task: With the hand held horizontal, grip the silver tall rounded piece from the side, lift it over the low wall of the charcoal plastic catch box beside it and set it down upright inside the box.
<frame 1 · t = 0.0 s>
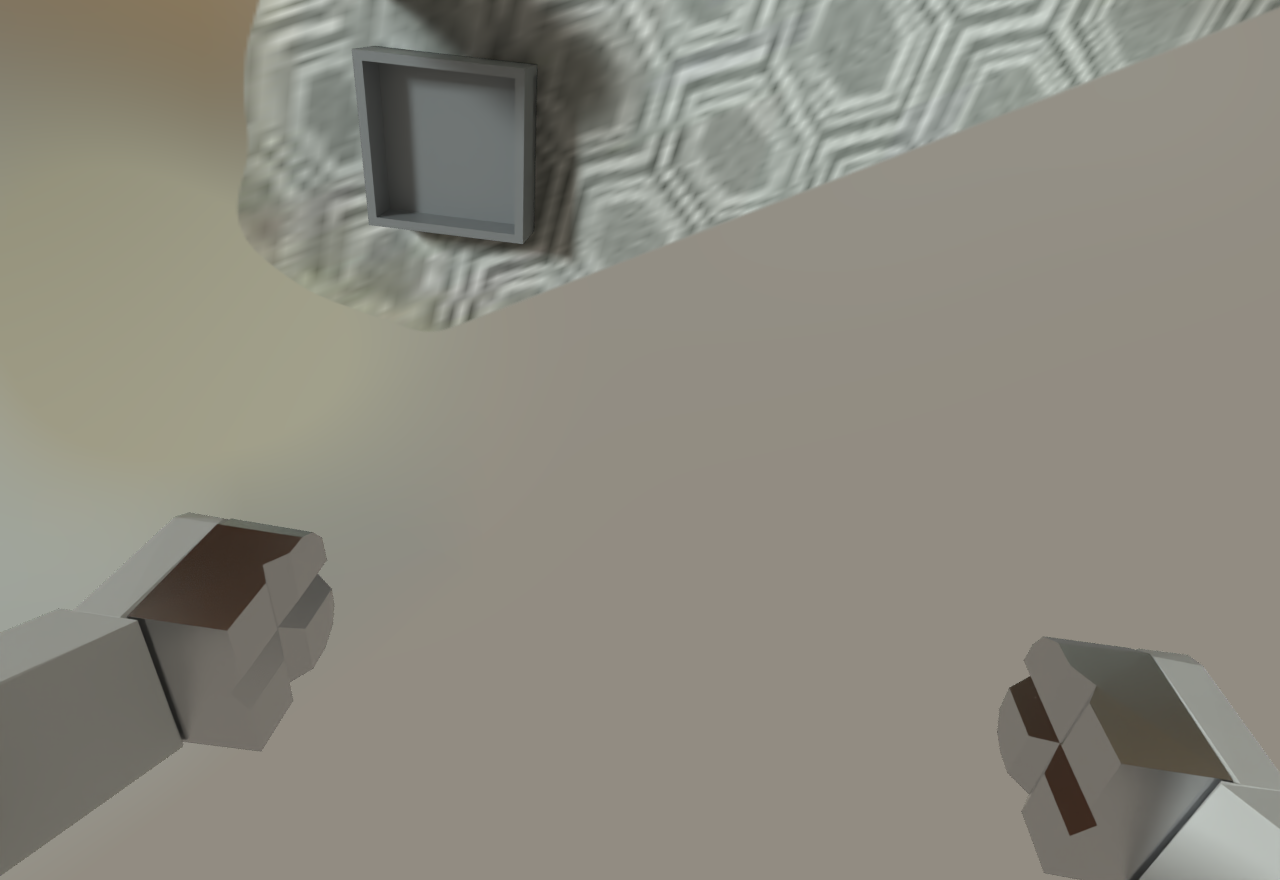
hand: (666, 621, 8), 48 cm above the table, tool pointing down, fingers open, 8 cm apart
catch box: (458, 143, 52), on the table
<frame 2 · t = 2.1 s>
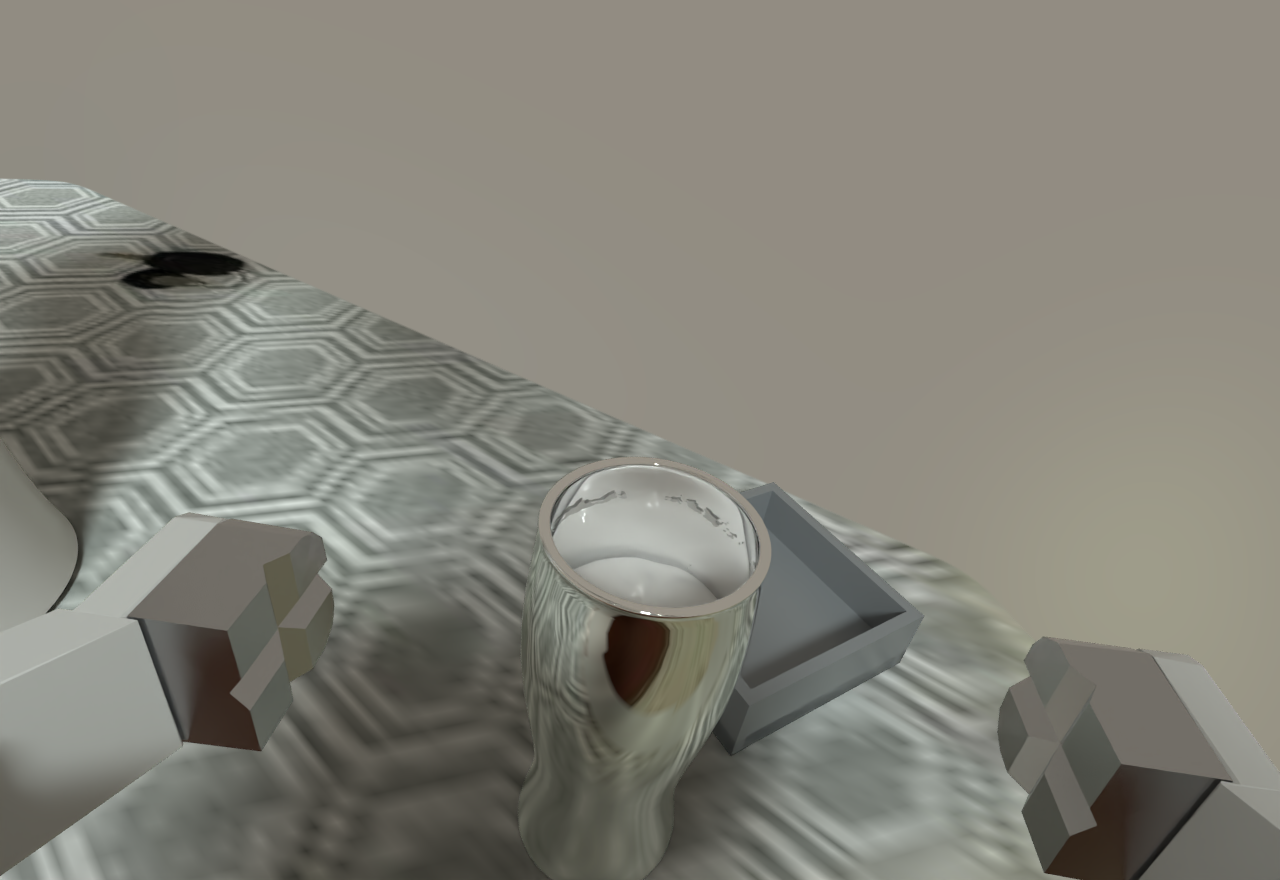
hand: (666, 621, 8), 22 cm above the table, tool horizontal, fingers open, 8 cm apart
catch box: (747, 621, 38), on the table
silver tall rounded piece: (595, 815, 29), on the table
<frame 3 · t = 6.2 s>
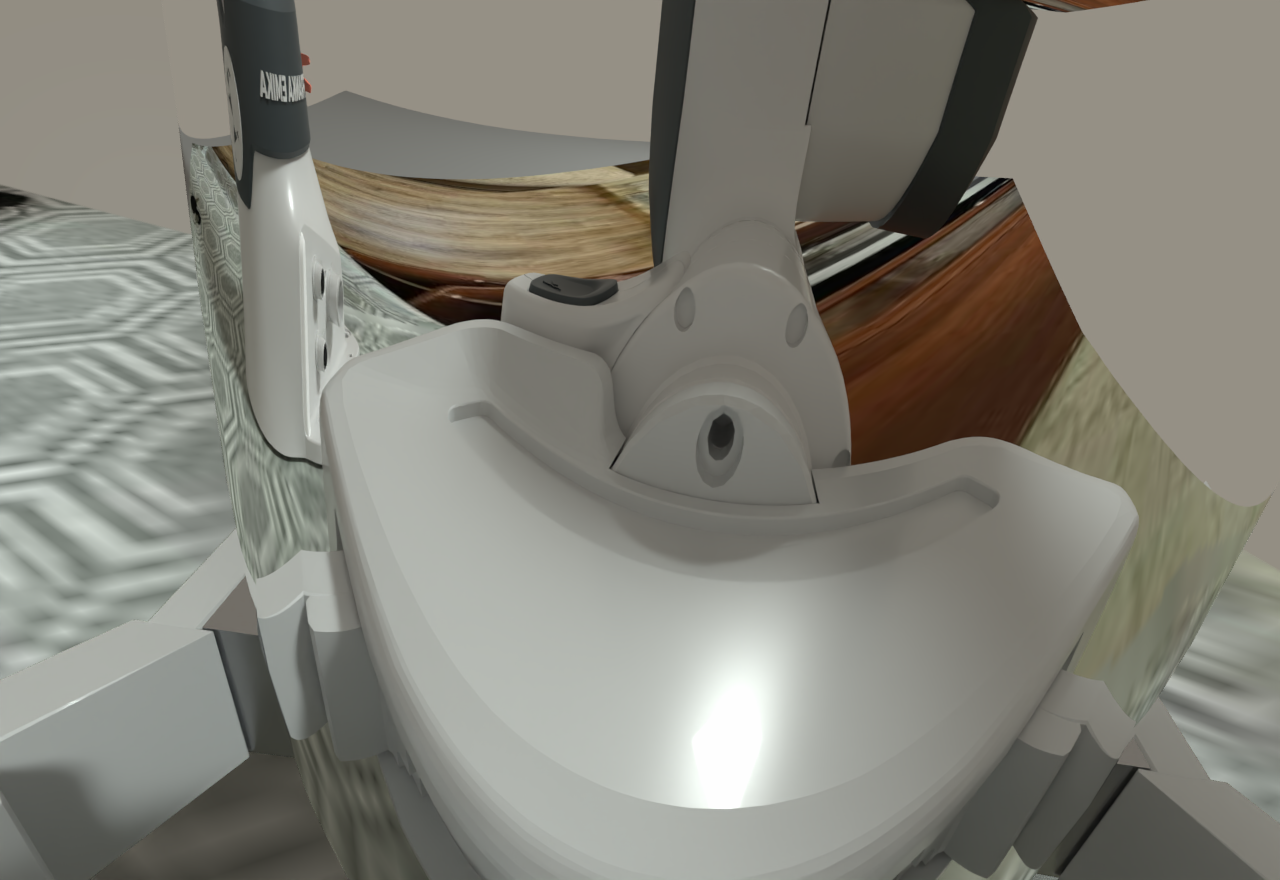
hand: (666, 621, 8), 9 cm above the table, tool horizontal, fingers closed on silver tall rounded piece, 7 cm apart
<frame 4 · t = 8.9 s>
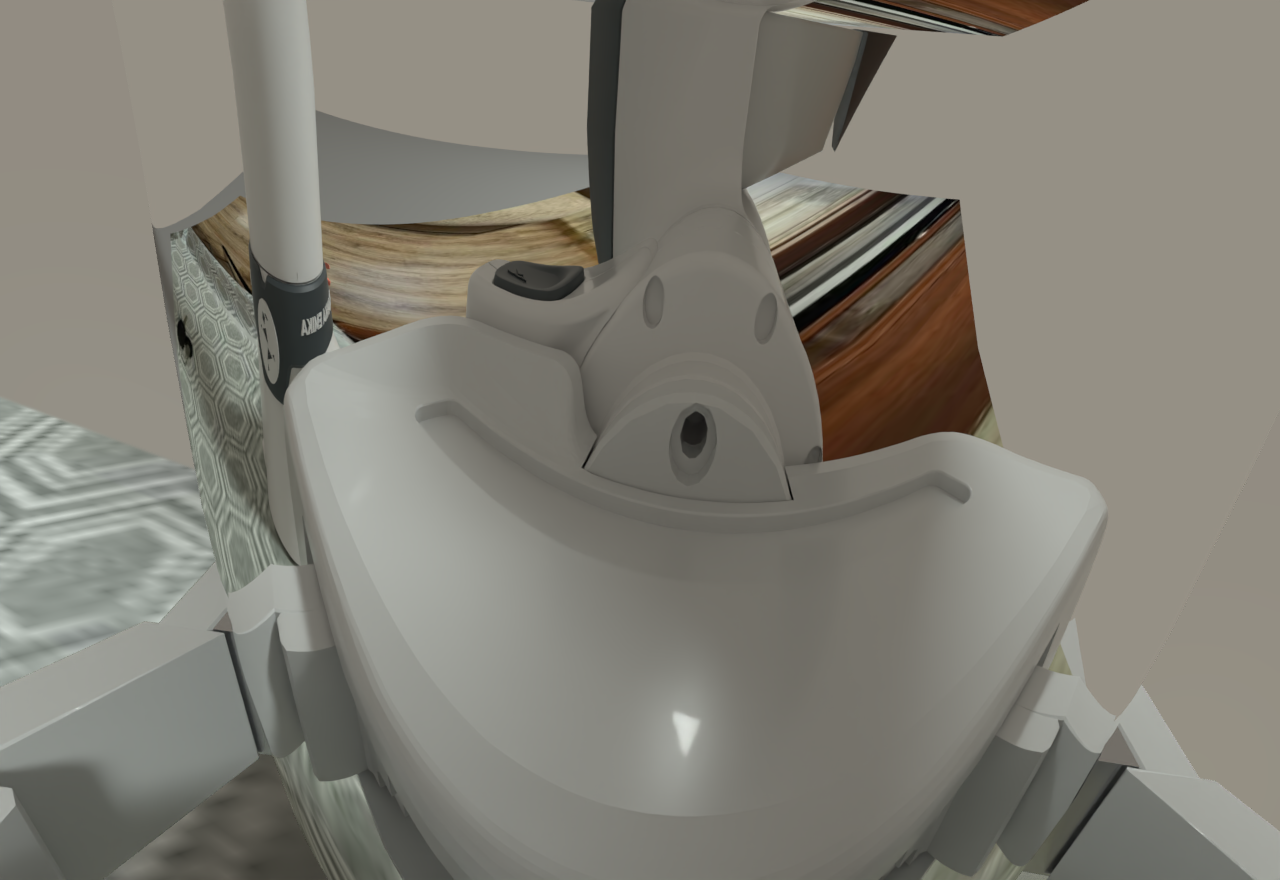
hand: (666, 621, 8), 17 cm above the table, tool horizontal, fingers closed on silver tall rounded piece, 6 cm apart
when the fingers open (11 cm above the table, at t = 11.2 s): silver tall rounded piece moves 2 cm, point 1 cm above the table.
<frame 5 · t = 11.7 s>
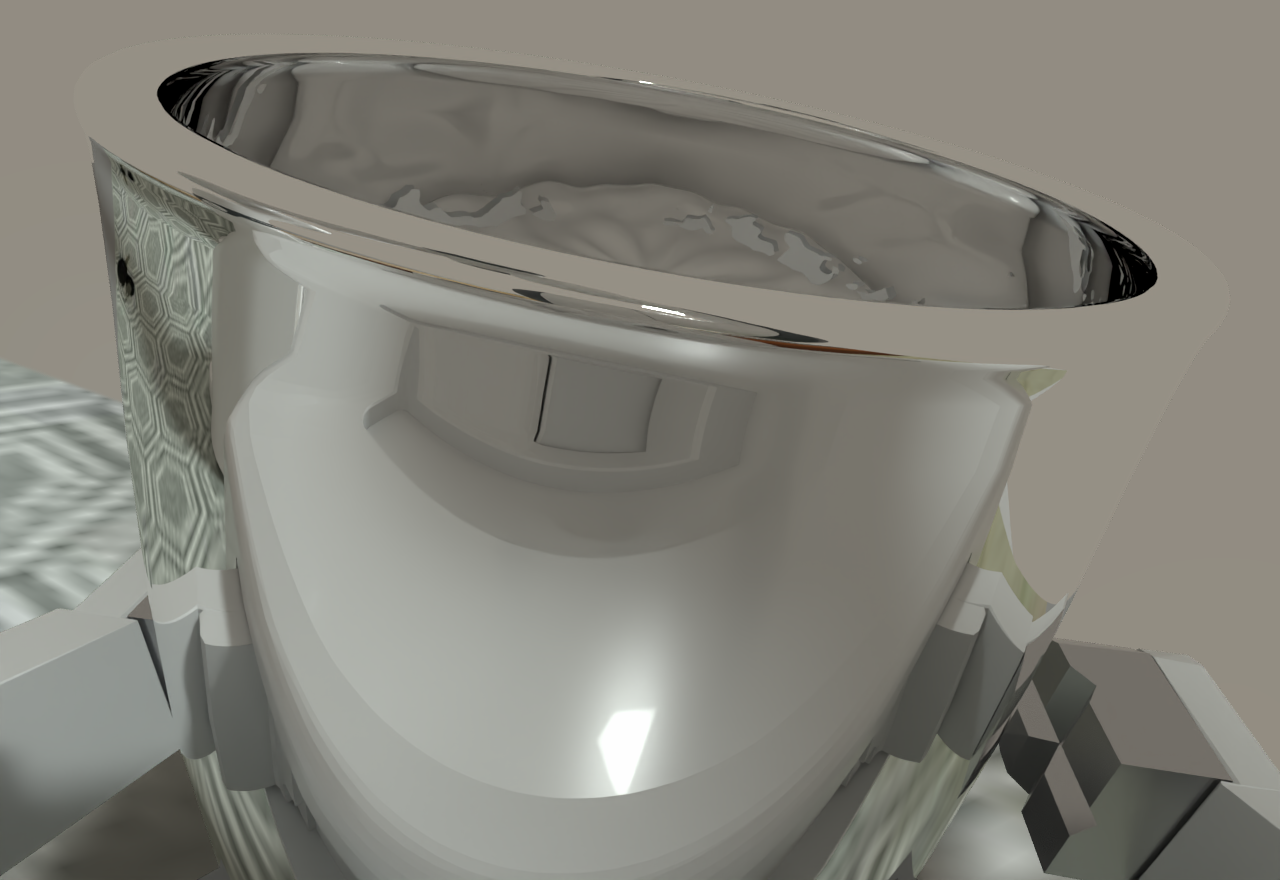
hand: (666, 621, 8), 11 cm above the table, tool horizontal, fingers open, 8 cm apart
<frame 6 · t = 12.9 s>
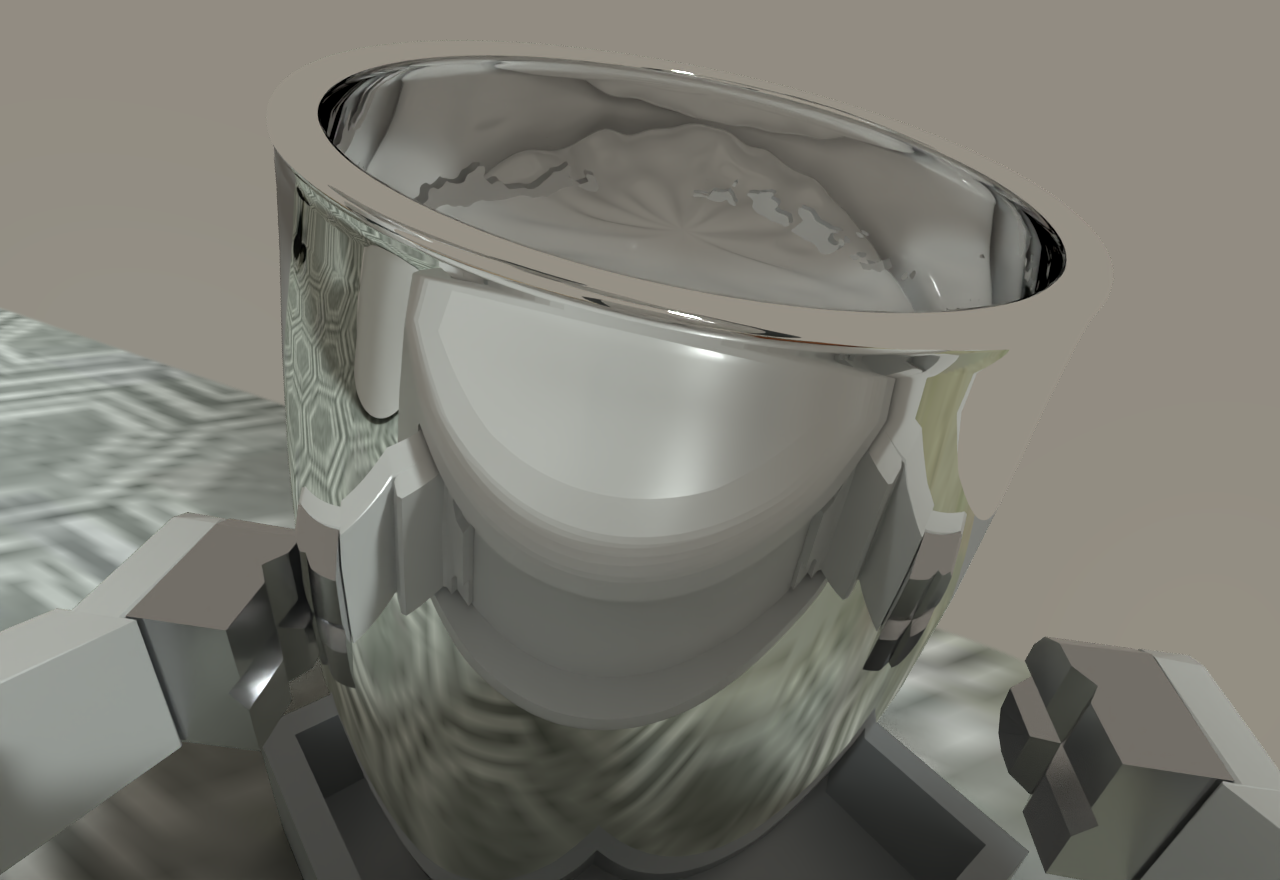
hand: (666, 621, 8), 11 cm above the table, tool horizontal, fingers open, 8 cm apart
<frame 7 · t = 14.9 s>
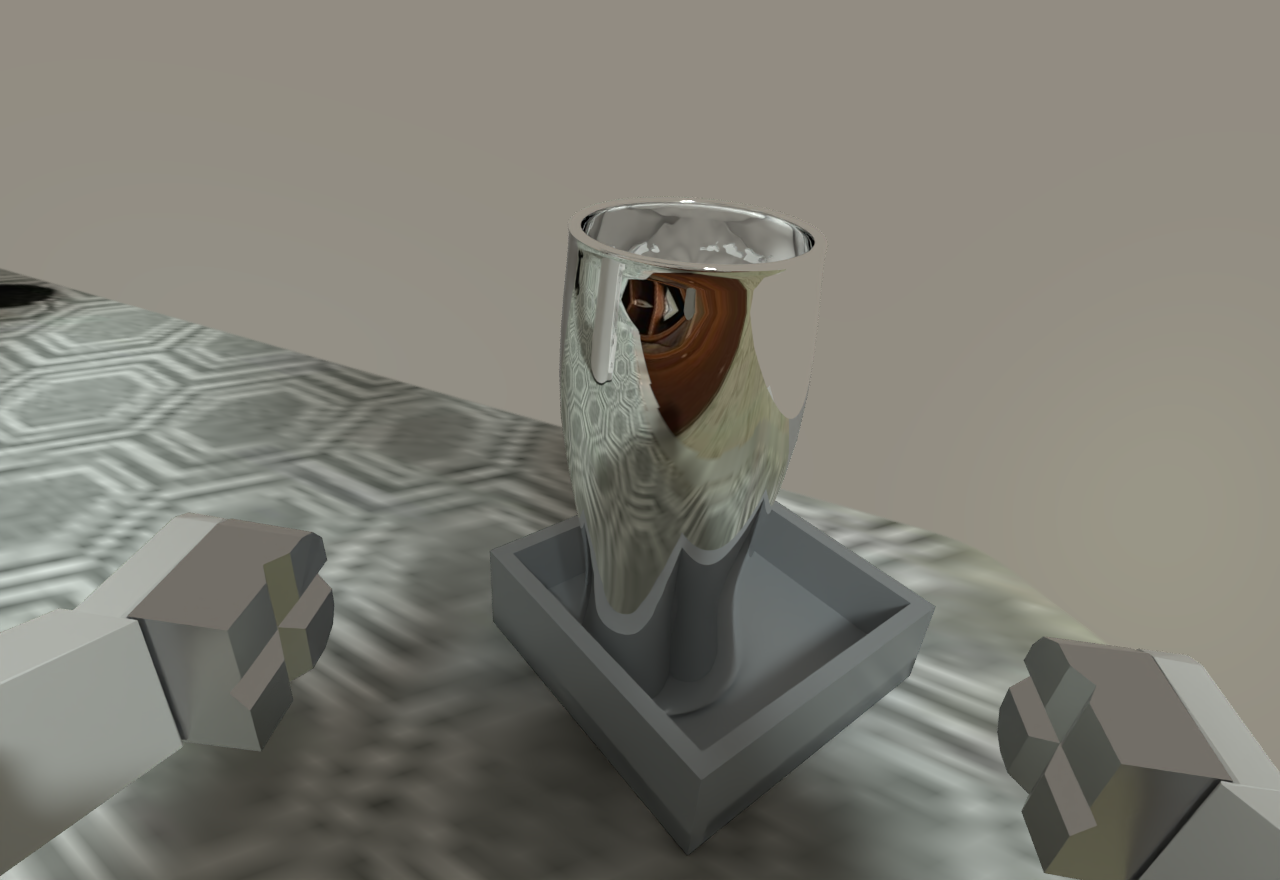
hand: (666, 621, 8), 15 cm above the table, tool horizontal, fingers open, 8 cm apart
catch box: (698, 648, 28), on the table
silver tall rounded piece: (656, 650, 26), point 1 cm above the table, touching catch box
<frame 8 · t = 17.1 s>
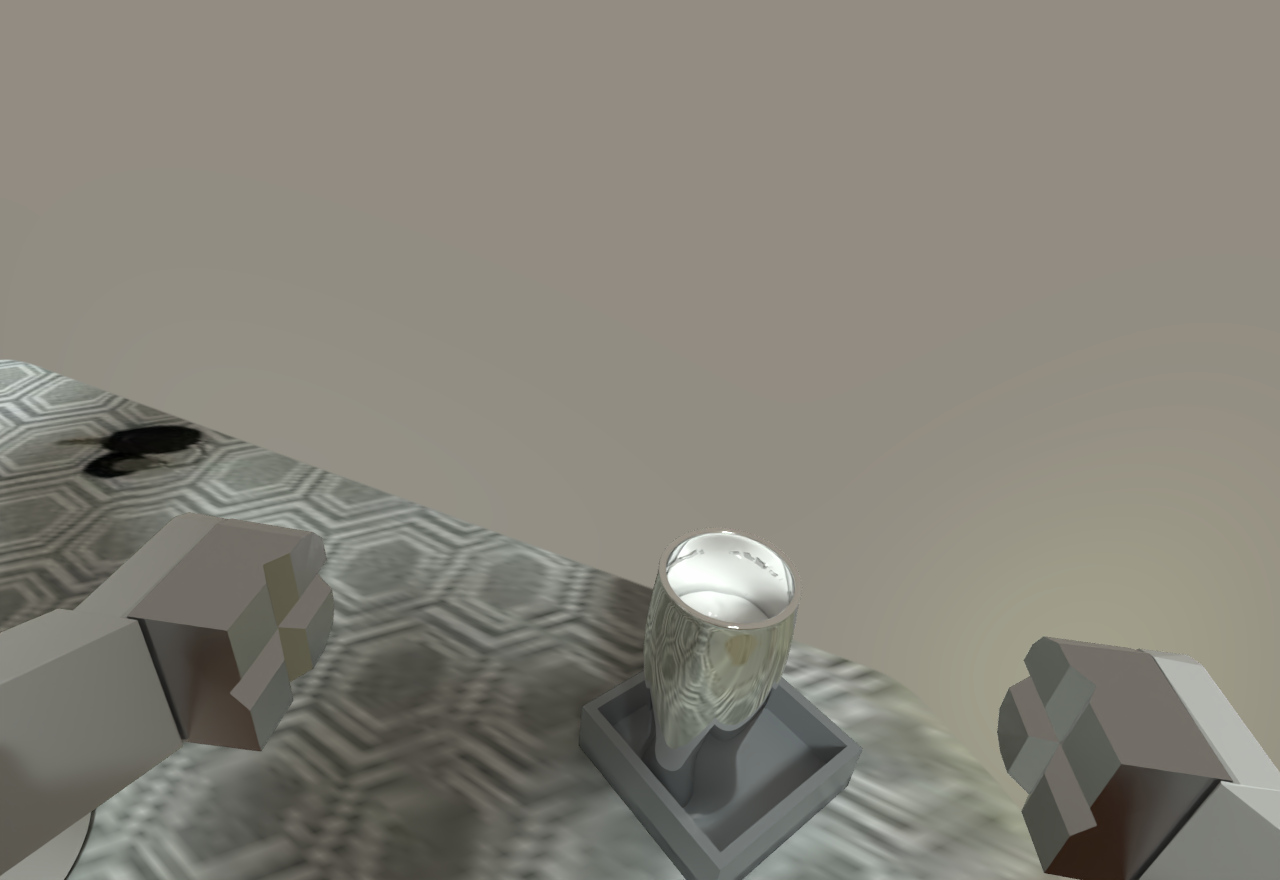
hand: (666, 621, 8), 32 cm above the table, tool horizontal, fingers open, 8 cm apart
catch box: (712, 765, 43), on the table
silver tall rounded piece: (687, 770, 41), point 1 cm above the table, touching catch box
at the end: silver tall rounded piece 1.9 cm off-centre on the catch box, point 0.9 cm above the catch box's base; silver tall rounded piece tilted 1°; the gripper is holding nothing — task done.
